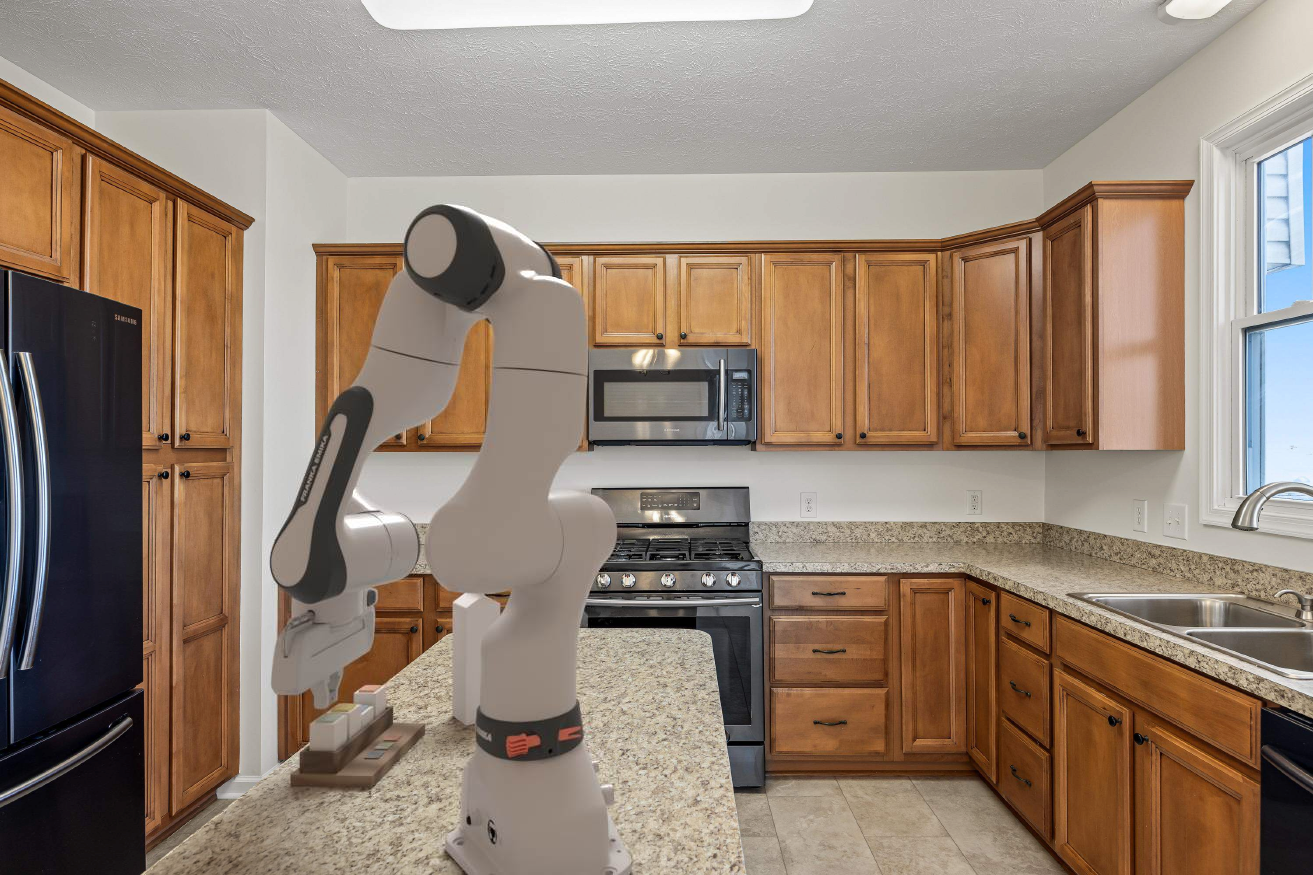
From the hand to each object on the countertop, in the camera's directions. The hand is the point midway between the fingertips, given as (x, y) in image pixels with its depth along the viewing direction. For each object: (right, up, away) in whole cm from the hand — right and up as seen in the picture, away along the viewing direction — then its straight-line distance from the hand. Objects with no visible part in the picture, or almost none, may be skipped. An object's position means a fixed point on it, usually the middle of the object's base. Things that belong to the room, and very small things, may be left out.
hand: (325, 705), depth 94 cm
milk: (+15, -10, +21) cm, 28 cm away
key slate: (+1, -8, +8) cm, 11 cm away
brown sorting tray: (+3, -10, +5) cm, 11 cm away
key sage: (+1, -6, 0) cm, 6 cm away
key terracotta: (+1, -6, +12) cm, 13 cm away
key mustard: (+1, -6, +4) cm, 7 cm away
